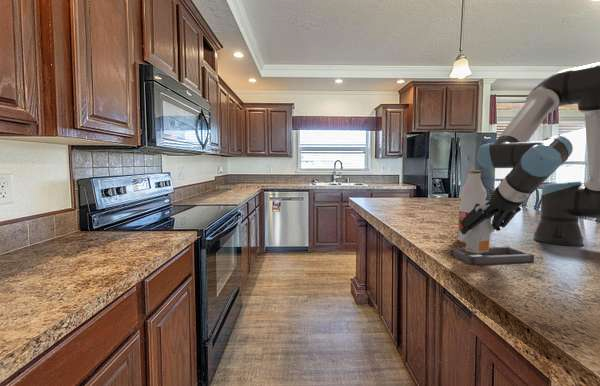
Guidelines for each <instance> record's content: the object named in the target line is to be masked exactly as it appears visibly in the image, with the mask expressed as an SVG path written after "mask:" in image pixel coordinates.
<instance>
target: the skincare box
mask: <svg viewBox="0 0 600 386" xmlns="http://www.w3.org/2000/svg"><path fill="white" fill-rule="evenodd" d="M490 224H492V217H491V218H490V219H485V220H484V221H482V222H481V223H480V224H478V225H477V226H475V227H474V228H472V230H473V231H472V232H471V233H470V234H469V235H468V236H467V237H466V243H465V247H466V251H470V252H474V253H482V252H488V251H489V247H490V239H491V238H490V236H491V234H490Z"/></svg>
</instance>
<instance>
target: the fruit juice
mask: <svg viewBox="0 0 600 386" xmlns="http://www.w3.org/2000/svg"><path fill="white" fill-rule="evenodd" d="M466 174H467V179H466V180H465V184H464V185H463V186H462V188H461V190H460V192H459V195H460V198H461V201H460V202H459V205H458V206H459V208H458V210H459V211H458V230H457V231H458V233H459V232H460V230H461V229H462V228H463V227H462V225H461V223H460V222H461V221H462V220H463V219H464V218H465V217H466V216H467V215H468V214H469V213H470V212H471V211H472V210H473V209H474V206H475V205H476V204H479V205H480V206H482V205H485V204H486V203H487V202H486V199H487V196H488V195H487V194H488V192H487V189H486V188H485V186H484V185H483V182H482V179H481V175H482V170H480V169H479V170H478V169H477V170H475V169H474V170H473V169H472V170H470V169H469V170H467V171H466ZM458 233H457V234H458ZM457 238H458V241H459V242H460V243H463V244H464V243H465V244H466V239H465V240H464V241H460V239H459V237H457Z"/></svg>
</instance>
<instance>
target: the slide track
mask: <svg viewBox="0 0 600 386" xmlns="http://www.w3.org/2000/svg"><path fill="white" fill-rule="evenodd" d="M499 254H500V255H499ZM450 255H451V256H453V257H454V258H457V259H459V260H461V261H464V262H466V263H468V264H470V265H472V266H473V265H486V264H487V265H489V264H490V265H491V264H511V263H528V262H530V261H531V262H535V254H532V253H529V252H526V251H523V250H520V249H517V248H514V247H511V246H508V245H506V246H505V245H504V246H503V245H502V246H500V245H493V246H489V251H488V252H482V253H474V252H470V251H466V246H465V247H464V246H463V247H461V248H460V247H459V248H450ZM531 262H530V263H531Z"/></svg>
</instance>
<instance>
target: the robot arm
mask: <svg viewBox="0 0 600 386" xmlns="http://www.w3.org/2000/svg"><path fill="white" fill-rule="evenodd" d="M568 105H569V106H570V105H577V109H578V111H579V112H581V113H582V114H584V121H585V134H586V136H585V137H586V149H587V163H588V174H589V175H588V176H589V179H587V180H586V181H585V182H584V184H583V183H582V182H581V181H568V182H567V181H566V182H565V181H564V182H555V183H553V182H552V183H545V184H544V185H543V187H542V188H541V189H542V190H541V195H540V197H541V200H540V201H541V202H540V218H539V222H538V225H537V227H536V230H535V231H534V232H533V239H534V240H535V241H538V242H541V243H544V244H551V245H558V246H570V247H571V246H573V247H575V246H582V245H584V237H583V236H582V235H583V234H582V230H581V228H580V224H579V219H580V218H587V219H597V220H600V61H599V62H596V63H595V62H594V63H591V64H587V65H583V66H578V67H573V68H567V69H563V70H561V71H558V72H556V73H553V74H552V75H550V76H549V77H547V78H545V79H544V80H543V81H541V82H540V83H538V84H537V85H536V86H535V87H533V88H532V90H530V92H529V93H528V95H527V97H526V98H525V104H523V106H522V107H521V108H520V110H519V111H518V112H517V113H516V115H515V116H514V117H513V118H512V119H511V120H510V122H509V123H508V125H507V126H506V127H505V128H504V130H503V131H502V132H501V133H500V135H499V136H497V138H496V140H495V141H494V142H493V143H491V142H490V143H489V142H488V143H484V144H482V145H480V146H479V148H478V150H477V155H476V157H477V163H478V164H479V166H480V167H482V168H488V169H489V168H490V169H511V170H510V171H509V172H508V173H507V175H506V176H505V177H504V178H502V180H501V181H500V182H499V184H498V186H496V188H494V190H493V191H492V192H491V194H490V197H489V200H488V201H487V202H485V203H486V204H485V205H482V206H480V205H479V204H476V205H475V206H474V209H473V210H472V211H471V212H470V213H469V214H468V215H467V216H466V217H465V218H464V219H463V220H462V221H461V222H460V223H461V225H462V227H463V228H462V229H461V230H460V232H459V233H457V236H458V237H459V239H460V241H459V242H461V241H464V240H465V239H466V237H467V236H468V235H469V234H470V233H471V232H472V231H473V230H472V228H474V227H475V226H477V225H478V224H480V223H481V222H482V221H484V220H485V219H490V218H491V224H490V235H491V234H492V233H494V232H495V231H496V232H499V231H501V228H502V229H503V228H506V226H507V225H509V223H510V222H511V220H512V219H513V218H514V217H515V216H516V214H517V213H519V212H521V211H522V208H521V205H522V204H523V203H524V202H525V201H526V200H527V199H528V198H529V197H530V196H531V195H532V194H533V193H534V192H535V191H536V190H537V189H538V188H539V187H540V186H541V185H542V184H543V183H544V182H545V181H547V179H548V178H549V177H550V176H551V175H552V174H553V173H555V172H556V170H558V168H560V167H561V166H562V165H563V164H564V163H566V162H567V160H568V159H569V157H570V156H571V155H572V152H573V143H571V141H570V140H569V139H568V138H567V137H565V136H562V135H557V134H556V135H551V136H548V137H546V138H544V139H542V140H536V141H535V140H533V141H531V140H530V139H531V137H532V136H533V135H534V134H535V132H536V131H537V130H538V128H539V127H540V125H542V123H543V122H544V120H545V119H546V118H547V116H548V115H549V114H550V113H552V112H555V110H557V109H558V108H559V107H562V106H568ZM582 184H583V185H582ZM492 217H493V218H492ZM458 237H457V238H458ZM459 239H458V240H459Z"/></svg>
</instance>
